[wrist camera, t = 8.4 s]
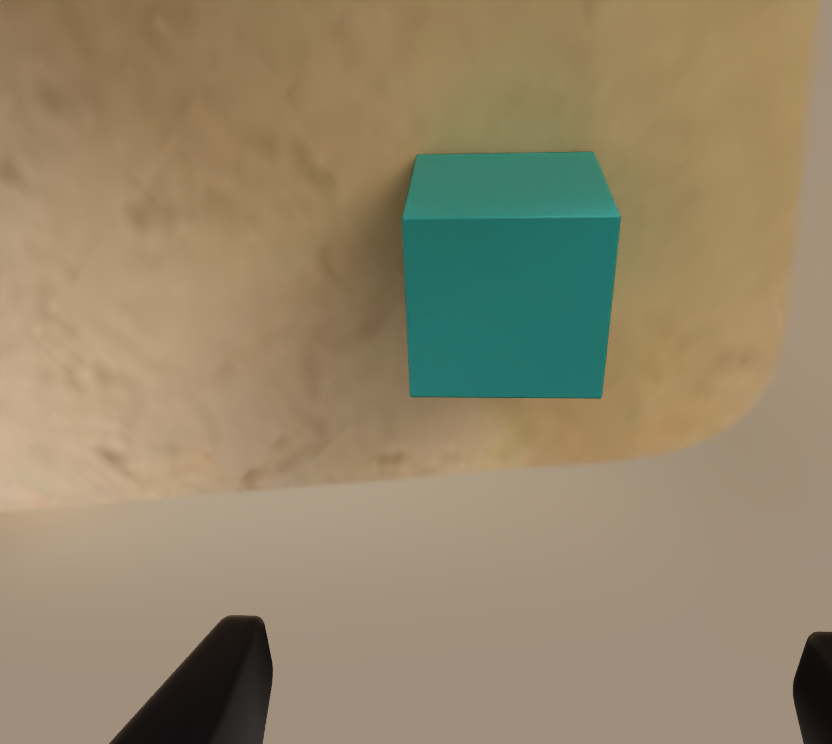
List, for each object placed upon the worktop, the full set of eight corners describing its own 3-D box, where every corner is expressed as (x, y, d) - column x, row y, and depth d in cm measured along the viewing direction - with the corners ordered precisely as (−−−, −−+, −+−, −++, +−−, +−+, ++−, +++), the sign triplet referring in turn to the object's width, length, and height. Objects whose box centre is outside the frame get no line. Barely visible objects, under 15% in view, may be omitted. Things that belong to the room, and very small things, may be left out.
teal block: (594, 151, 18) (621, 215, 14) (580, 310, 20) (602, 399, 16) (416, 153, 18) (401, 217, 15) (421, 310, 20) (409, 398, 17)
